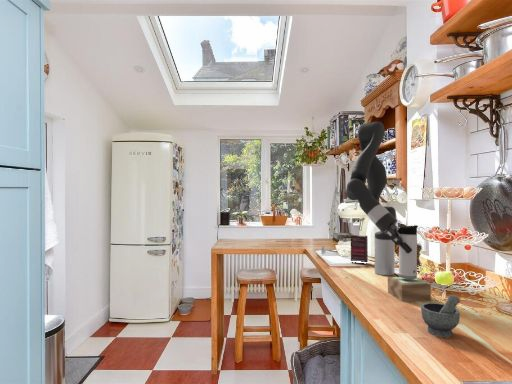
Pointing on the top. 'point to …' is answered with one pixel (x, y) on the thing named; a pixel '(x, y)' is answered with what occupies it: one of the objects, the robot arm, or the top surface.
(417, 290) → the block
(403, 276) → the travel mug
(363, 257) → the supplement box
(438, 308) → the mortar and pestle
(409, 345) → the top surface
